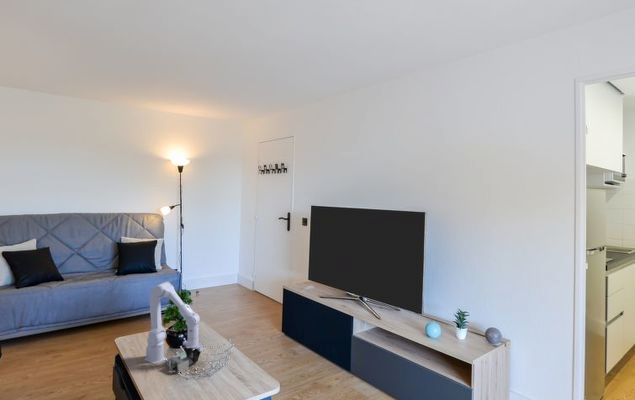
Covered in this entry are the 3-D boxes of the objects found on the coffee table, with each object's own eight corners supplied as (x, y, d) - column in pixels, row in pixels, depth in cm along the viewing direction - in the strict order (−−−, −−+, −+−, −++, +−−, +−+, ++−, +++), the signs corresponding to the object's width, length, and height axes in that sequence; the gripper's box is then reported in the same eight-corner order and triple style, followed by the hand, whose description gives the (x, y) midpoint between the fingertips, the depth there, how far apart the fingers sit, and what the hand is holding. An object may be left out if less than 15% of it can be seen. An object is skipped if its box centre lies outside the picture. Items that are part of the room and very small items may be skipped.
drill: (181, 370, 188) (181, 361, 188) (175, 368, 191) (175, 359, 191) (198, 362, 197) (198, 354, 198) (192, 361, 200) (192, 352, 200)
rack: (168, 362, 198) (168, 358, 198) (190, 352, 211) (190, 349, 211) (177, 366, 193) (177, 362, 193) (199, 355, 206) (199, 352, 206)
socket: (169, 369, 189) (169, 358, 189) (178, 365, 194) (179, 354, 194) (178, 374, 185) (179, 362, 185) (188, 369, 190) (188, 358, 190)
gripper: (178, 335, 198) (178, 359, 198) (195, 342, 190) (195, 367, 190) (189, 331, 203) (188, 355, 204) (206, 337, 196) (205, 362, 196)
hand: (192, 360), depth 197 cm, fingers closed on drill, 5 cm apart
